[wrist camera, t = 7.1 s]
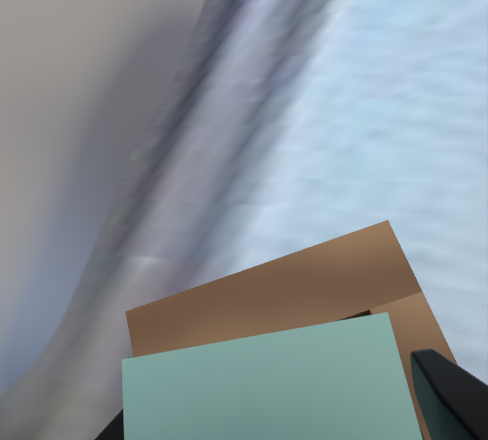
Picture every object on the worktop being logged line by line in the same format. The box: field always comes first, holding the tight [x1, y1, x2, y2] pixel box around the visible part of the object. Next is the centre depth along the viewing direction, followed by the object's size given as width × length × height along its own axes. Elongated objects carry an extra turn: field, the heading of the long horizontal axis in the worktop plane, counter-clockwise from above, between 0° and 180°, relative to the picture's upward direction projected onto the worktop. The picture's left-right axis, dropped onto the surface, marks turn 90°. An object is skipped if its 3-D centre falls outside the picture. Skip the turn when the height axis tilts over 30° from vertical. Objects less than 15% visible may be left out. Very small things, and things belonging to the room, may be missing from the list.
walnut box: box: [126, 220, 457, 440], centre depth 17 cm, size 13×11×3 cm
